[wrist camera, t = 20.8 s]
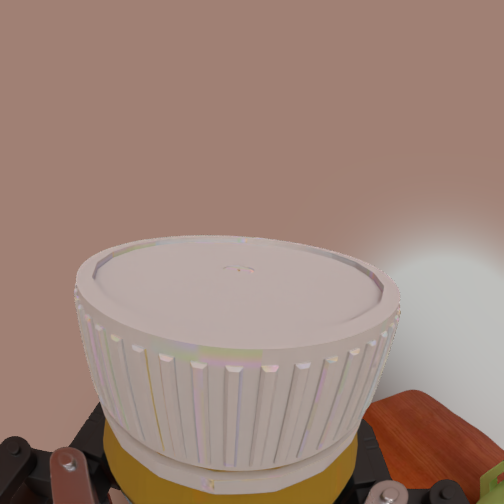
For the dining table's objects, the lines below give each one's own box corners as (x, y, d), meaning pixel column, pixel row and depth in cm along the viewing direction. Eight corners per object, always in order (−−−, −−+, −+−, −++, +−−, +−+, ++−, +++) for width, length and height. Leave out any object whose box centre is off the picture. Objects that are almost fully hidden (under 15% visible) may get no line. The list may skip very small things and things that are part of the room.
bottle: (316, 521, 9) (433, 268, 6) (235, 600, 4) (320, 549, 1) (222, 469, 13) (229, 226, 10) (136, 523, 8) (25, 252, 5)
